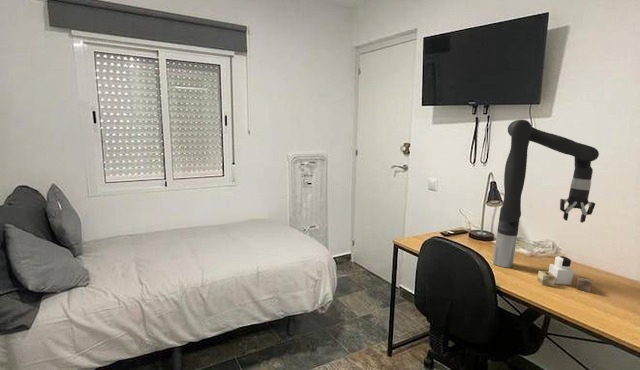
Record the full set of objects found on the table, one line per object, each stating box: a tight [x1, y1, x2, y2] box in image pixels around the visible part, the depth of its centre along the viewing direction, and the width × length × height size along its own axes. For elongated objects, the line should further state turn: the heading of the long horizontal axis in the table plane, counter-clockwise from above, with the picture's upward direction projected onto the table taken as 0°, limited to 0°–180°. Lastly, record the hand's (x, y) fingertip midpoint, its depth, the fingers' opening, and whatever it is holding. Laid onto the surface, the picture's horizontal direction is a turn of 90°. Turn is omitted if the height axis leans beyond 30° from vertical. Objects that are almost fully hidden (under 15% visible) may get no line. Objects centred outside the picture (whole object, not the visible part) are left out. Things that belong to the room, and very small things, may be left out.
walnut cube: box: [575, 275, 593, 294], centre depth 153 cm, size 5×5×5 cm
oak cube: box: [536, 270, 555, 287], centre depth 158 cm, size 5×5×5 cm
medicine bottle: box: [547, 255, 575, 286], centre depth 160 cm, size 7×7×12 cm
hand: (573, 221), depth 166 cm, fingers open, 6 cm apart
